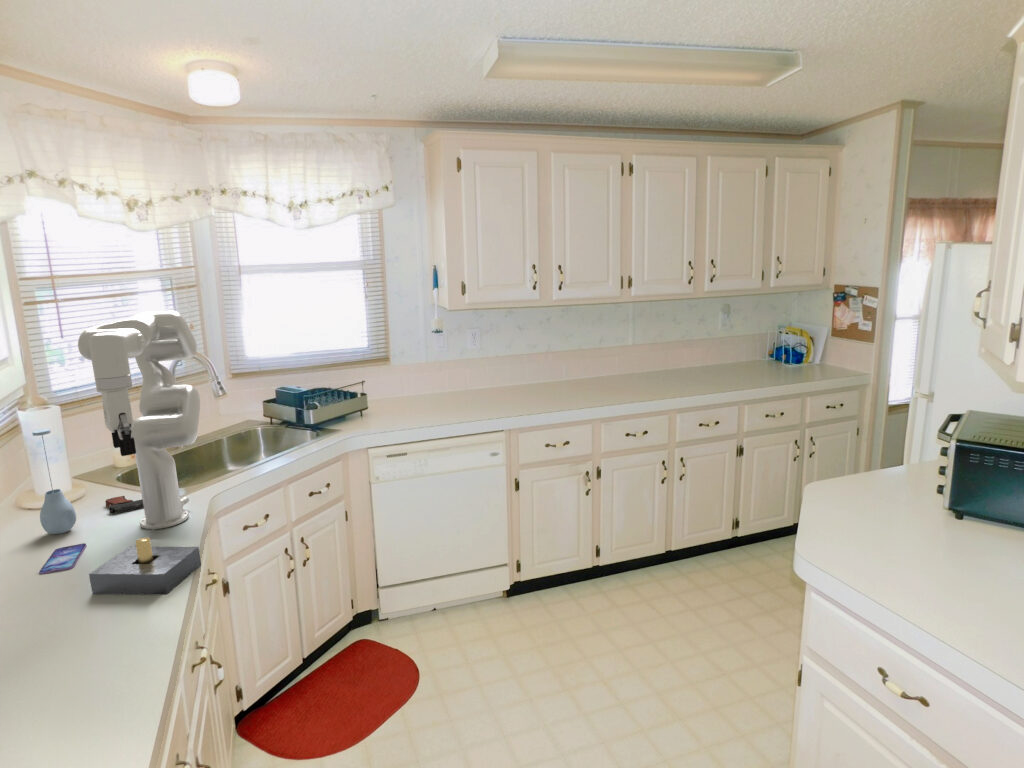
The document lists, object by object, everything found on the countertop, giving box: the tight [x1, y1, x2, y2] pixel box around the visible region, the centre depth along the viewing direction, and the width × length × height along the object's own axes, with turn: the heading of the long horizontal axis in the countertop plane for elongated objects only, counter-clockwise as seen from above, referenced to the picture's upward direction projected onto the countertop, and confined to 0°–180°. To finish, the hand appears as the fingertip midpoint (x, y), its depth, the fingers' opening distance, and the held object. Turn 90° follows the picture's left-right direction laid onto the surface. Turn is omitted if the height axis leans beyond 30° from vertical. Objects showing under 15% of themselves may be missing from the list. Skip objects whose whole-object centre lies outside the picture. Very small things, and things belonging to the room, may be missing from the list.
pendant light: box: [31, 428, 77, 535], centre depth 179 cm, size 8×8×30 cm
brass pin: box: [134, 536, 153, 564], centre depth 152 cm, size 3×3×10 cm
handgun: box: [105, 495, 144, 514], centre depth 202 cm, size 16×3×12 cm
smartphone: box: [38, 542, 87, 575], centre depth 165 cm, size 7×1×15 cm
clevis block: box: [88, 545, 202, 596], centre depth 152 cm, size 14×18×5 cm
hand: (124, 450), depth 160 cm, fingers open, 9 cm apart
